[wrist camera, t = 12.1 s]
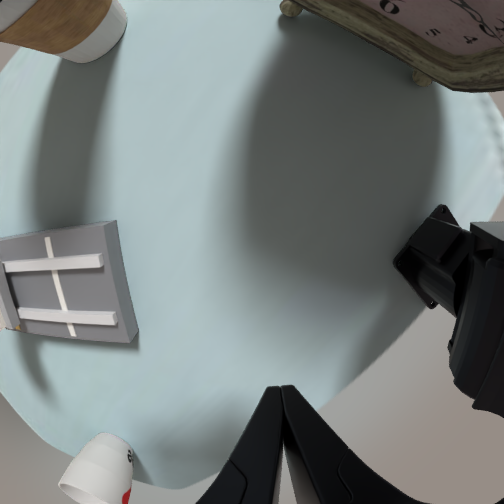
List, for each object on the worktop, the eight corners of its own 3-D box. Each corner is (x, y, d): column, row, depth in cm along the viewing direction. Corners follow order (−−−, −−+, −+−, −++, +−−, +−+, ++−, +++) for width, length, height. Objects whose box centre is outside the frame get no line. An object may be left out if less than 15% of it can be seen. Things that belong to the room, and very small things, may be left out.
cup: (129, 466, 28) (111, 519, 18) (79, 435, 26) (52, 486, 17) (154, 452, 26) (136, 516, 17) (97, 416, 25) (65, 478, 15)
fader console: (116, 220, 19) (99, 227, 16) (138, 330, 21) (127, 347, 19) (-6, 239, 19) (-23, 245, 17) (16, 320, 22) (3, 331, 19)
